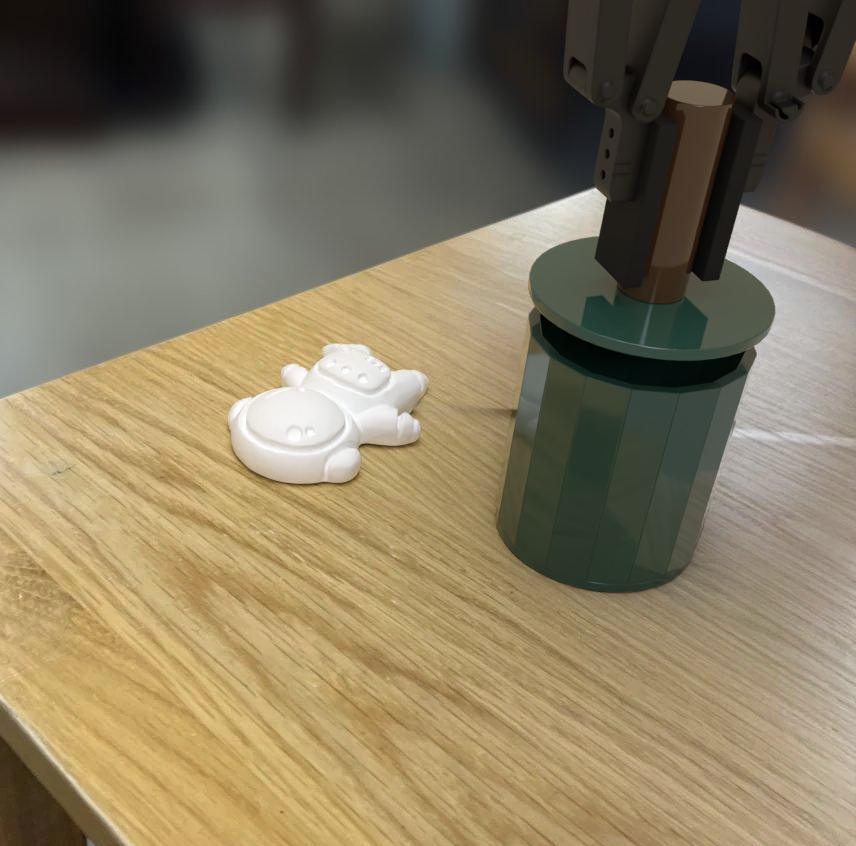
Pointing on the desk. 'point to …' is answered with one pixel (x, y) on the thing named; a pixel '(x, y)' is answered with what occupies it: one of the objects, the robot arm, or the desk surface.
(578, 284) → the lid
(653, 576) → the canister
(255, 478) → the desk surface
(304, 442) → the white cartoon animal figure
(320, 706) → the desk surface
